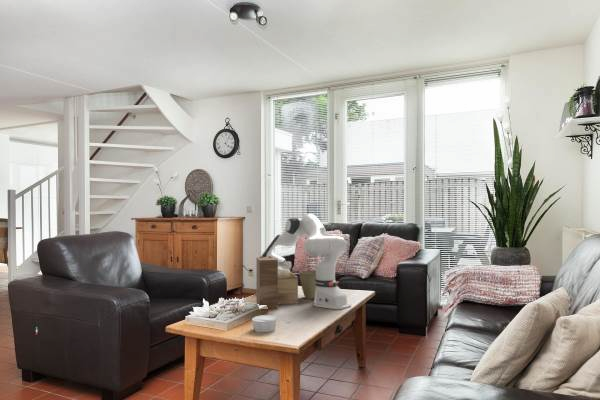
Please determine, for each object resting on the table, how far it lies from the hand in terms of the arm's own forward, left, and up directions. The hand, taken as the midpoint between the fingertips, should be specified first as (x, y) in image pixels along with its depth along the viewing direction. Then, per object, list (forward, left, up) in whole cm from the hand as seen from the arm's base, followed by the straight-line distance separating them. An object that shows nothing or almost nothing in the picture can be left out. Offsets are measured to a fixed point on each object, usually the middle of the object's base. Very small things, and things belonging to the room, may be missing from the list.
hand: (277, 261), depth 273 cm
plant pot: (-24, -6, -21) cm, 32 cm away
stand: (-19, +18, -21) cm, 33 cm away
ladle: (-11, +7, -7) cm, 15 cm away
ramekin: (-55, +58, -21) cm, 83 cm away
